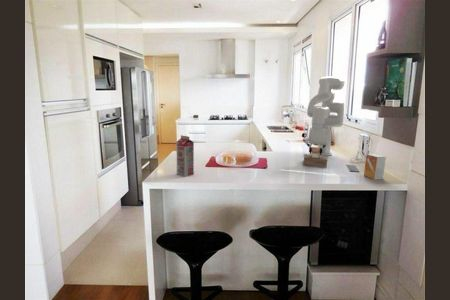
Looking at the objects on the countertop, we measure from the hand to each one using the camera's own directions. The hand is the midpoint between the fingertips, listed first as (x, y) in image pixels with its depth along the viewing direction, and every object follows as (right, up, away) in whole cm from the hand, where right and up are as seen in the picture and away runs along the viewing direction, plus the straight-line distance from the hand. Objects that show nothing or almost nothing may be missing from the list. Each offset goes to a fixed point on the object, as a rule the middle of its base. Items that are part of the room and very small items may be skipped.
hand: (315, 153), depth 187 cm
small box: (+26, -13, -23) cm, 37 cm away
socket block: (0, -8, +1) cm, 8 cm away
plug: (0, -7, +1) cm, 7 cm away
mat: (+19, -9, -4) cm, 22 cm away
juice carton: (-82, -12, -26) cm, 87 cm away
